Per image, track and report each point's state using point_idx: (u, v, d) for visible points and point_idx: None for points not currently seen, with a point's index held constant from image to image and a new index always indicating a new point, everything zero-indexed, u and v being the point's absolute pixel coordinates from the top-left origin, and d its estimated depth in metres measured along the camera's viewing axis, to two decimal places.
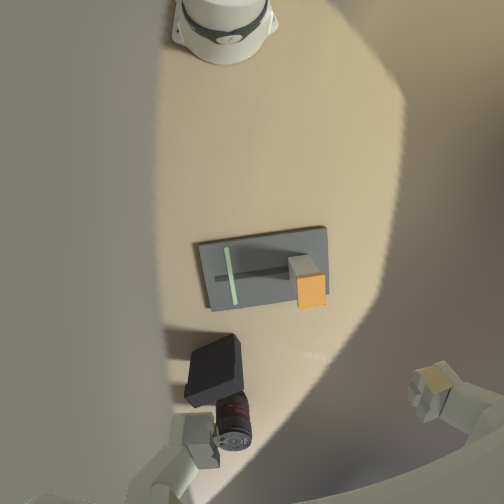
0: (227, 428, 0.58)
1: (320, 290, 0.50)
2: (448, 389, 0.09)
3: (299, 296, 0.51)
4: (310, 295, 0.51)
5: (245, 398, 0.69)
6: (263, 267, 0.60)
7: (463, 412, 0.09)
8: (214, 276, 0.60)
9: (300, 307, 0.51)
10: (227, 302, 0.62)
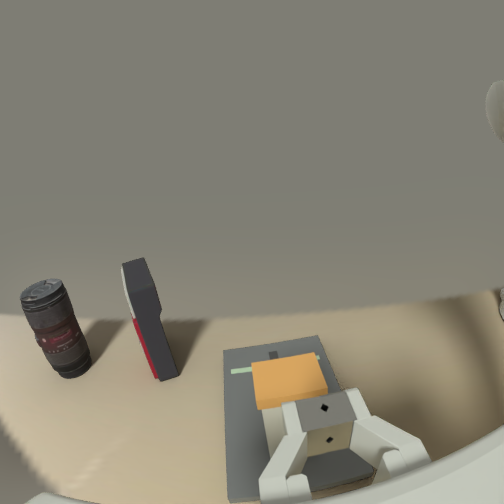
0: (64, 292, 0.40)
1: (291, 387, 0.23)
2: (351, 421, 0.09)
3: (278, 360, 0.26)
4: (281, 373, 0.25)
5: (68, 365, 0.40)
6: None
7: (370, 448, 0.08)
8: (276, 350, 0.43)
9: (254, 364, 0.26)
10: (235, 363, 0.42)
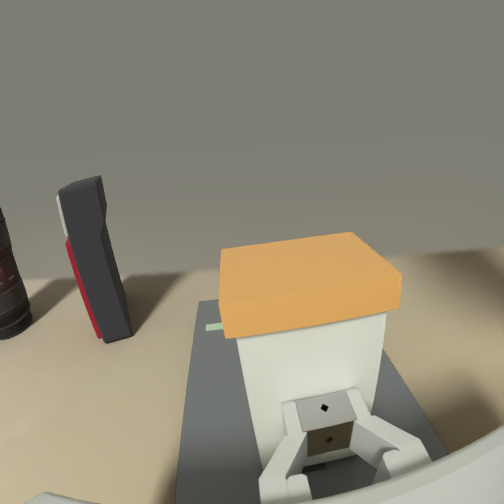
0: None
1: (312, 277, 0.10)
2: (351, 421, 0.09)
3: (279, 243, 0.13)
4: (285, 259, 0.11)
5: None
6: None
7: (370, 448, 0.08)
8: None
9: (228, 250, 0.13)
10: (214, 317, 0.28)
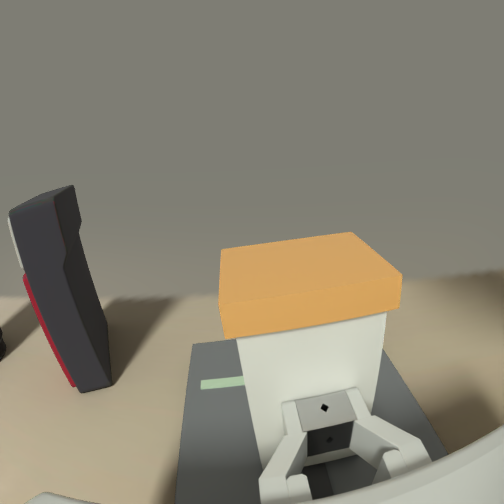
0: None
1: (312, 277, 0.10)
2: (351, 421, 0.09)
3: (279, 243, 0.13)
4: (285, 259, 0.11)
5: None
6: None
7: (370, 448, 0.08)
8: None
9: (228, 250, 0.13)
10: (211, 369, 0.21)
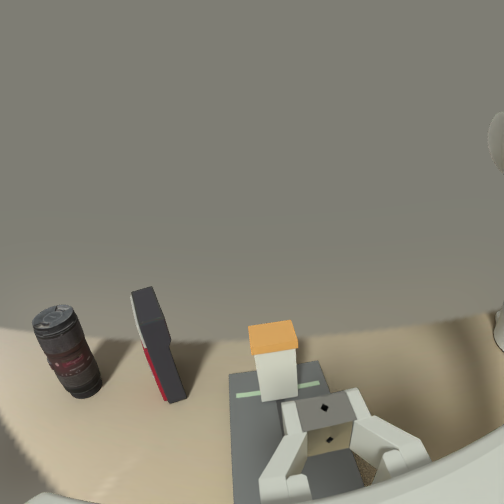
0: (75, 319, 0.42)
1: (273, 339, 0.37)
2: (351, 421, 0.09)
3: (266, 324, 0.40)
4: (267, 332, 0.38)
5: (80, 387, 0.42)
6: None
7: (370, 448, 0.08)
8: None
9: (250, 327, 0.40)
10: (240, 387, 0.43)
